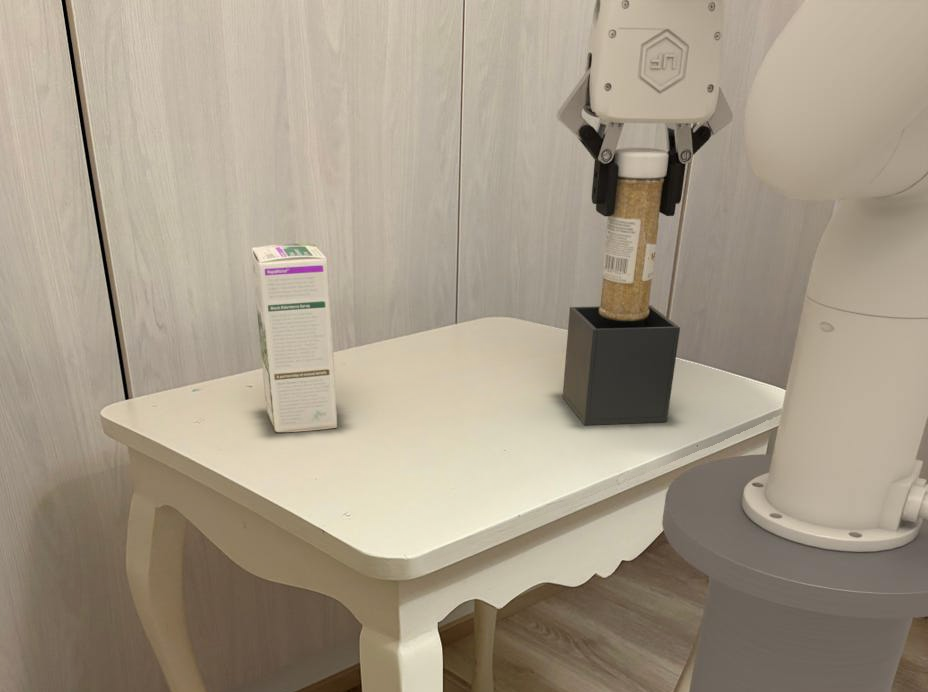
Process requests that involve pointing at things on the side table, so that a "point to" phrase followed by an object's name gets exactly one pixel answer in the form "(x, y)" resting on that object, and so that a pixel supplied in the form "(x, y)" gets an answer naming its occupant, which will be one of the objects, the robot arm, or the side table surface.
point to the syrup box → (295, 336)
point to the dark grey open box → (619, 367)
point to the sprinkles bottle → (632, 234)
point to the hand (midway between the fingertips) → (634, 211)
